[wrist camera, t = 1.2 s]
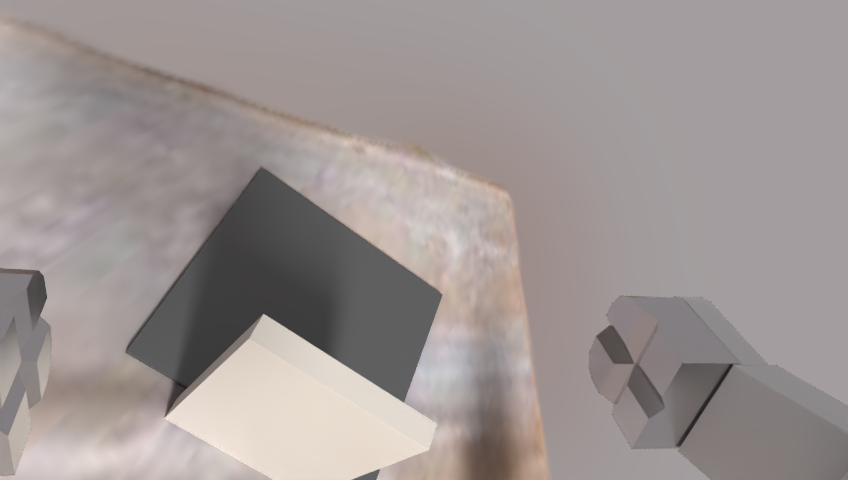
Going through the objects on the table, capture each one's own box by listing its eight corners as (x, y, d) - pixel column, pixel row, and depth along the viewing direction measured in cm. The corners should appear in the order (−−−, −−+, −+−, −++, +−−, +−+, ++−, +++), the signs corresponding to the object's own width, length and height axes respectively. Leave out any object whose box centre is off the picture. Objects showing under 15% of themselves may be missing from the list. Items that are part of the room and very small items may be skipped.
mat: (125, 352, 38) (126, 350, 38) (260, 170, 49) (261, 167, 49) (368, 493, 42) (371, 492, 42) (439, 296, 54) (442, 294, 54)
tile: (164, 418, 37) (248, 338, 28) (178, 396, 38) (264, 311, 29) (304, 497, 40) (429, 450, 30) (314, 474, 41) (437, 421, 31)
